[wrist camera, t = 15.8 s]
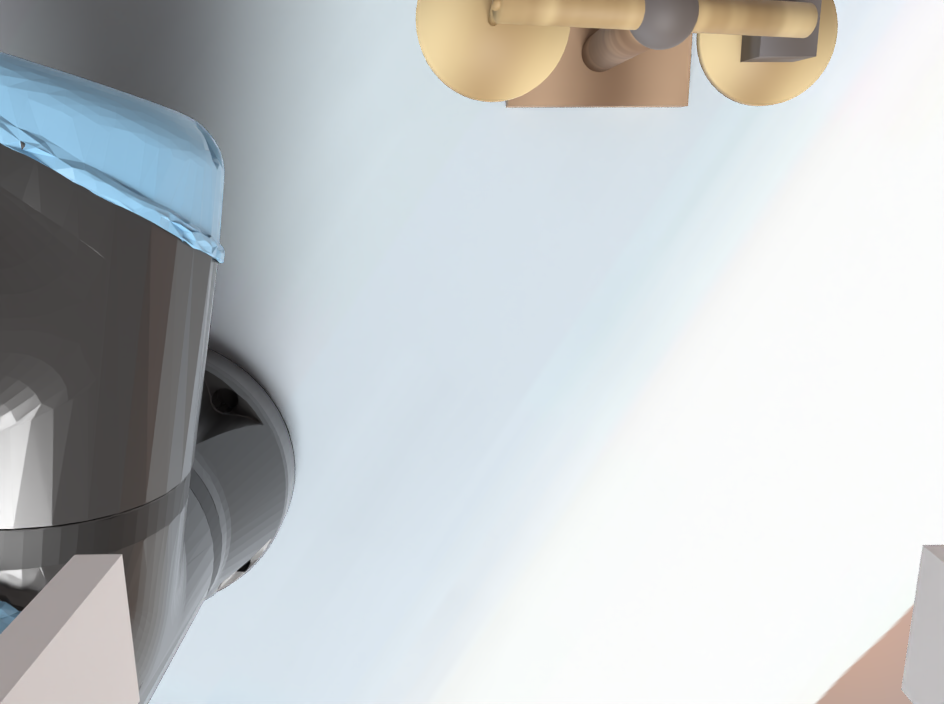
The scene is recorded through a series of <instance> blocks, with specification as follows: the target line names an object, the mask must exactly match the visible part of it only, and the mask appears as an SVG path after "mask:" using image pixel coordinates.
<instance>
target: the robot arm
mask: <svg viewBox="0 0 944 704" xmlns="http://www.w3.org/2000/svg"><path fill="white" fill-rule="evenodd" d="M223 190H224V162H223V158H222V155H221V152H220V149H219V147H218V145H217V143H216V142H215V140H214V139H213V137H212V136H211V135H210V134H209V132H208V131H207V130H206V129H205V128H204V127H203V126H202V125H201V124H199V123H198V122H197V121H195V120H194V119H192V118H190V117H188V116H186V115H184V114H182V113H180V112H177V111H175V110H172V109H170V108H167V107H164V106H162V105H159V104H157V103H154V102H151V101H148V100H146V99H143V98H140V97H137V96H134V95H131V94H128V93H126V92H123V91H120V90H117V89H114V88H111V87H108V86H105V85H102V84H99V83H96V82H93V81H90V80H87V79H84V78H81V77H78V76H75V75H72V74H69V73H66V72H63V71H59V70H56V69H53V68H50V67H47V66H44V65H40V64H37V63H34V62H31V61H28V60H25V59H22V58H18V57H15V56H12V55H9V54H6V53H2V52H0V704H148V703H149V701H150V699H151V697H152V695H153V694H154V692H155V690H156V688H157V686H158V684H159V683H160V681H161V679H162V677H163V675H164V673H165V672H166V670H167V668H168V666H169V664H170V662H171V661H172V659H173V657H174V655H175V653H176V651H177V650H178V648H179V646H180V644H181V642H182V640H183V639H184V637H185V635H186V633H187V631H188V629H189V627H190V626H191V624H192V622H193V620H194V618H195V616H196V615H197V613H198V611H199V609H200V607H201V605H202V603H203V602H204V601H205V600H207V599H208V598H210V597H211V596H213V595H214V594H215V593H216V592H218V591H220V590H222V589H224V588H225V587H227V586H229V585H230V584H232V583H233V582H235V581H236V580H238V579H239V578H241V577H242V576H243V575H244V574H246V573H247V572H248V571H249V570H250V569H251V568H252V567H253V566H254V565H255V564H256V563H257V562H258V561H259V560H260V558H261V557H262V556H263V555H264V554H265V552H266V551H267V550H268V548H269V547H270V545H271V544H272V542H273V540H274V539H275V537H276V535H277V533H278V531H279V529H280V527H281V524H282V522H283V520H284V518H285V516H286V513H287V511H288V508H289V505H290V502H291V498H292V494H293V488H294V479H295V463H294V454H293V448H292V444H291V440H290V436H289V433H288V431H287V428H286V425H285V423H284V421H283V418H282V417H281V415H280V413H279V411H278V409H277V408H276V406H275V404H274V403H273V401H272V400H271V398H270V397H269V396H268V394H267V393H266V392H265V391H264V389H263V388H262V387H261V386H260V385H259V384H258V383H257V382H256V381H255V380H254V379H253V378H252V377H251V376H250V375H249V374H248V373H247V372H245V371H244V370H243V369H242V368H240V367H239V366H238V365H236V364H235V363H233V362H232V361H230V360H229V359H227V358H225V357H224V356H222V355H220V354H218V353H216V352H214V351H212V350H210V349H208V341H209V332H210V324H211V316H212V308H213V299H214V291H215V283H216V275H217V267H218V263H223V262H224V256H225V252H224V248H223V247H222V246H221V245H220V230H221V216H222V203H223ZM901 690H902V691H903V692H904V694H905V695H906V696H907V697H908V698H909V700H910V701H911V702H912V703H913V704H944V545H923V548H922V554H921V561H920V568H919V574H918V581H917V588H916V595H915V601H914V608H913V615H912V621H911V629H910V635H909V642H908V649H907V655H906V662H905V668H904V676H903V682H902V688H901Z"/></svg>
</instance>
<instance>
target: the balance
mask: <svg viewBox="0 0 944 704" xmlns="http://www.w3.org/2000/svg"><path fill="white" fill-rule="evenodd" d="M837 27H838V23H837V13H836V8H835V4H834V1H833V0H418V2H417V8H416V29H417V35H418V40H419V44H420V47H421V50H422V52H423V55H424V57H425V59H426V61H427V63H428V65H429V66H430V68H431V69H432V71H433V72H434V73H435V74H436V76H437V77H438V78H439V79H440V80H441V81H442V82H443V83H444V84H445V85H446V86H448V87H449V88H451V89H452V90H454V91H455V92H457V93H459V94H461V95H463V96H465V97H468V98H471V99H474V100H479V101H485V102H500V101H506V107H683V106H688V96H689V79H690V63H691V46H692V33H697V52H698V57H699V61H700V64H701V67H702V69H703V72H704V73H705V75H706V77H707V79H708V80H709V81H710V83H711V84H712V85H713V86H714V87H715V88H716V89H717V90H718V91H719V92H720V93H721V94H723V95H724V96H725V97H727V98H729V99H731V100H733V101H735V102H738V103H741V104H745V105H751V106H765V105H773V104H778V103H782V102H785V101H787V100H790V99H792V98H794V97H796V96H798V95H799V94H801V93H802V92H804V91H805V90H807V89H808V88H809V87H810V86H811V85H812V84H813V83H814V82H815V81H816V80H817V79H818V78H819V77H820V75H821V74H822V72H823V71H824V70H825V68H826V66H827V64H828V63H829V61H830V58H831V56H832V54H833V51H834V47H835V44H836V38H837Z"/></svg>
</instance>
